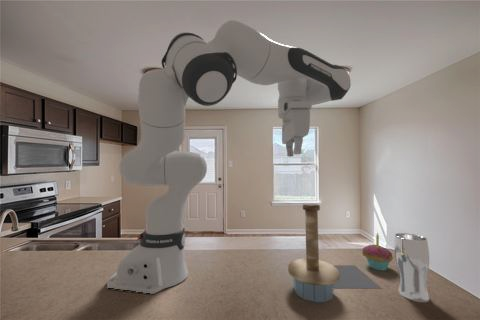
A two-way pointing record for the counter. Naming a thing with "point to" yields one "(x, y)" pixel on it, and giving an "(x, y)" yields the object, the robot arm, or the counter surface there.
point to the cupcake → (377, 255)
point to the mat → (353, 278)
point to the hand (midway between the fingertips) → (293, 155)
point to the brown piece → (313, 255)
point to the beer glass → (412, 265)
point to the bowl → (313, 291)
